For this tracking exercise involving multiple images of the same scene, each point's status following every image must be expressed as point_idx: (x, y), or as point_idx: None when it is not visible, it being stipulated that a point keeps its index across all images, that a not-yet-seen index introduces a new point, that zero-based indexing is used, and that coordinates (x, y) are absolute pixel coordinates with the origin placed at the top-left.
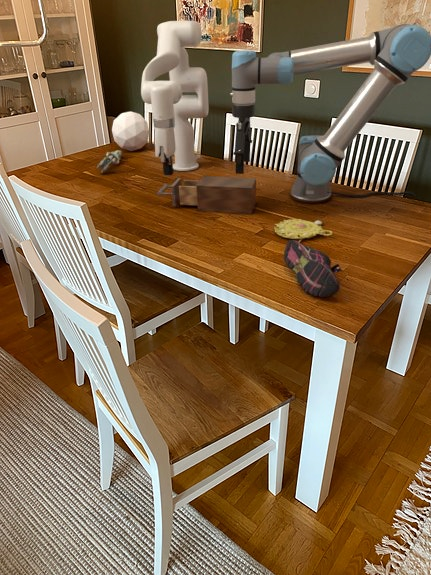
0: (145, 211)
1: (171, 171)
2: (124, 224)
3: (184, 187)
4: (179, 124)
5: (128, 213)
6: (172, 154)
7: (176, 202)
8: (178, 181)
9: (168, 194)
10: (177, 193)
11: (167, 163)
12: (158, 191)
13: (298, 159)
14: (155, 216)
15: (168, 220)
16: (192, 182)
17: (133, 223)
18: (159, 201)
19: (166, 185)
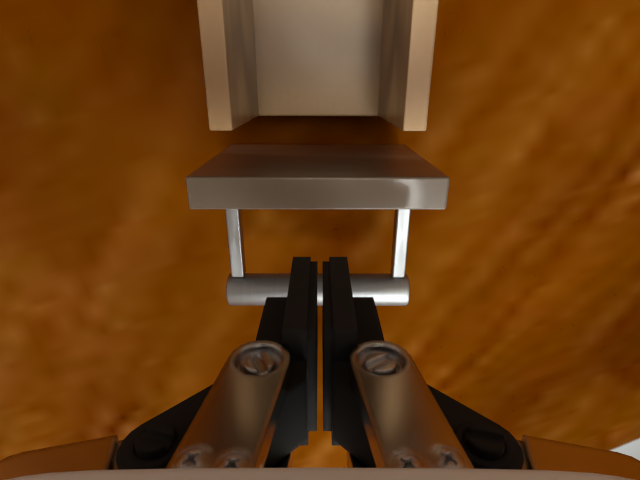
0: (452, 307)
1: (348, 278)
2: (627, 349)
3: (429, 62)
4: None
5: (482, 377)
6: (41, 459)
7: (382, 147)
8: (288, 175)
9: (409, 216)
10: (347, 156)
11: (436, 394)
12: (395, 302)
13: None
14: (527, 231)
15: (596, 132)
16: (228, 20)
17: (619, 313)
18: None
19: (244, 285)
